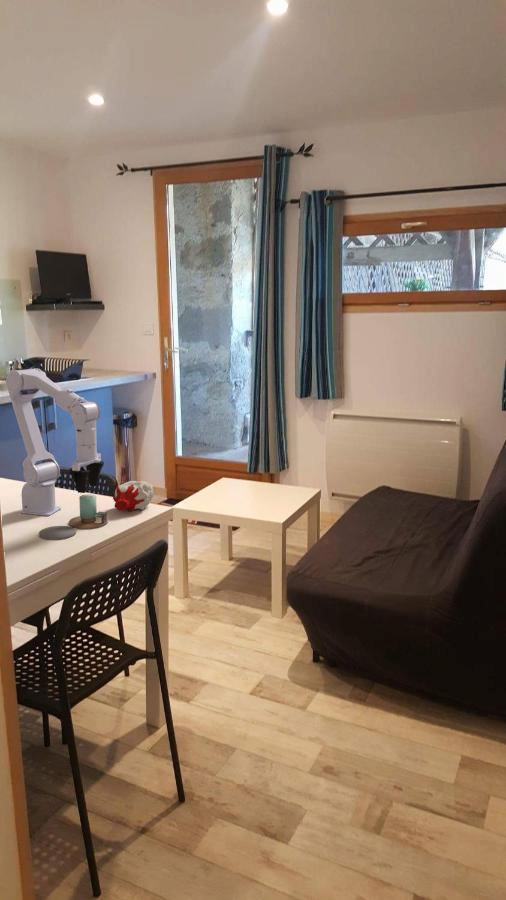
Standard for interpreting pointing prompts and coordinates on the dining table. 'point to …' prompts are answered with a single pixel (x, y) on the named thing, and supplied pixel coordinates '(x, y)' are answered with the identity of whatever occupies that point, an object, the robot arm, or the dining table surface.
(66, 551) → the dining table surface
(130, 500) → the multicoloured piece
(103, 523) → the tan wide-brim hat
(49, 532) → the coaster
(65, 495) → the dining table surface
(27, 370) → the robot arm
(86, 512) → the kettle
